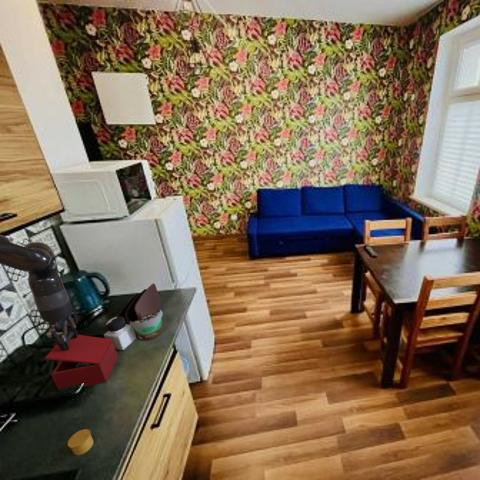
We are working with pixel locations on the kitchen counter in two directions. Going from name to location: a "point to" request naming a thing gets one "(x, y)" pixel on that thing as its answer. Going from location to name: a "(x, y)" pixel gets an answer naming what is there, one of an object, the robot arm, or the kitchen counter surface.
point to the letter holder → (141, 305)
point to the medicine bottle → (120, 333)
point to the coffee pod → (81, 442)
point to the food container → (148, 326)
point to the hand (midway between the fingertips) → (69, 343)
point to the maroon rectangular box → (85, 371)
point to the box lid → (81, 349)
